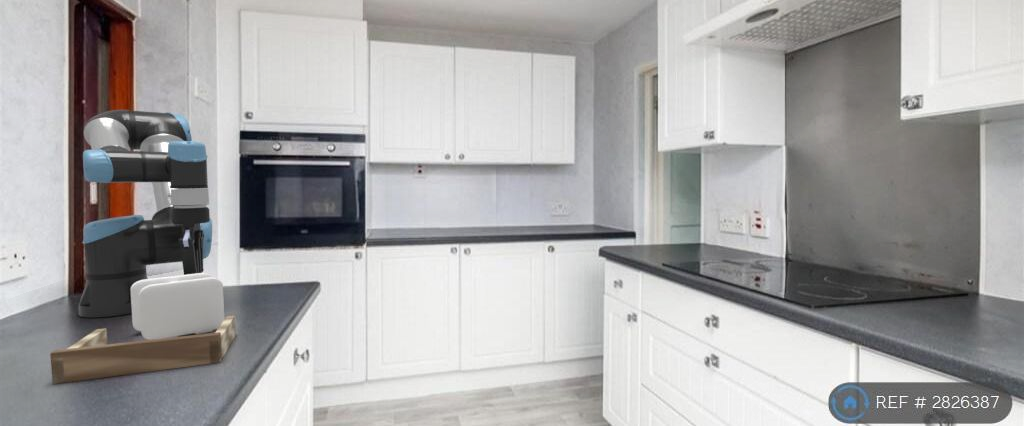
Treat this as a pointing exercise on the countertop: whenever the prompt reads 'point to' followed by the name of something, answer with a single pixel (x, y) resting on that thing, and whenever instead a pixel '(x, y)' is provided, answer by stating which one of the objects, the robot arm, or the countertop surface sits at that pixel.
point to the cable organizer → (177, 305)
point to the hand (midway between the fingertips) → (195, 304)
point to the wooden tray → (138, 354)
